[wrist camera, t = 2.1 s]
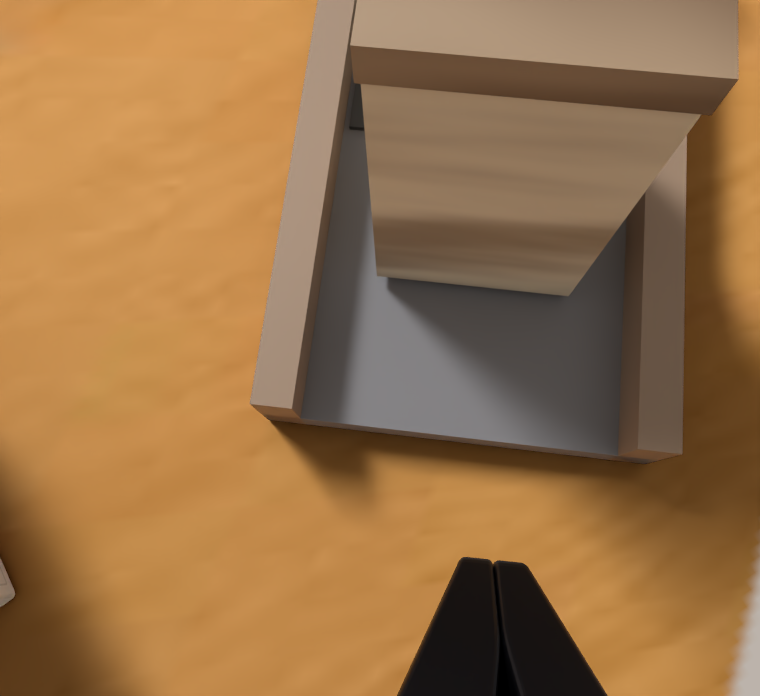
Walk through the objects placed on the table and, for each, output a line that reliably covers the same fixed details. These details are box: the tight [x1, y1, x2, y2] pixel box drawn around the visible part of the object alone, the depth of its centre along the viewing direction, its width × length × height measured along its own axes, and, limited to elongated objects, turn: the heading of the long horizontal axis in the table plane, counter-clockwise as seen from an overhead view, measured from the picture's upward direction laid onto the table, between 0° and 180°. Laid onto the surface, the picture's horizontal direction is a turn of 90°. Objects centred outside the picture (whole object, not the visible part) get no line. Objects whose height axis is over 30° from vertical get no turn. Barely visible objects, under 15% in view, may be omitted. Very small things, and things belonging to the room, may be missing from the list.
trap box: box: [250, 0, 687, 464], centre depth 22 cm, size 21×12×5 cm, turn 173°
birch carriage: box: [350, 0, 738, 296], centre depth 17 cm, size 5×6×11 cm
